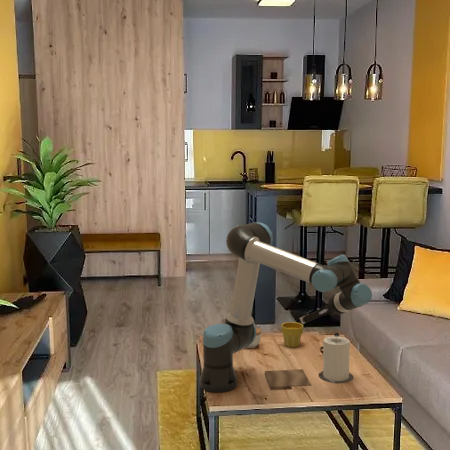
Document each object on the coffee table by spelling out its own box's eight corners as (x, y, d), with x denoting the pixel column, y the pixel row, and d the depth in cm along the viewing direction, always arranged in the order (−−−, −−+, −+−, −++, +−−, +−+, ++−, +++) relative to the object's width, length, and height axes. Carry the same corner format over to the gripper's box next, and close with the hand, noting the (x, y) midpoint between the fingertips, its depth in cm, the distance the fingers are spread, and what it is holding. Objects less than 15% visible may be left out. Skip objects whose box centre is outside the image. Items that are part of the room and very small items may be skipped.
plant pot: (307, 344, 279) (307, 324, 278) (294, 350, 271) (295, 330, 270) (289, 339, 286) (289, 320, 284) (276, 345, 278) (276, 325, 277)
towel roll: (326, 381, 233) (327, 345, 231) (320, 371, 243) (321, 337, 241) (351, 380, 234) (352, 344, 232) (344, 370, 244) (345, 336, 242)
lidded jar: (237, 342, 283) (237, 323, 281) (259, 341, 284) (259, 322, 283) (240, 350, 272) (240, 331, 271) (263, 349, 273) (263, 329, 272)
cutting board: (270, 389, 229) (270, 386, 229) (264, 373, 245) (264, 370, 244) (311, 387, 230) (311, 384, 230) (302, 372, 246) (302, 369, 246)
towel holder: (323, 386, 232) (323, 354, 230) (315, 372, 245) (315, 342, 243) (358, 384, 233) (358, 353, 231) (347, 371, 246) (348, 341, 245)
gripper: (321, 325, 213) (294, 335, 231) (370, 299, 224) (341, 310, 243) (311, 306, 214) (286, 317, 233) (361, 281, 225) (333, 294, 244)
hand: (314, 314), depth 238 cm, fingers open, 13 cm apart
